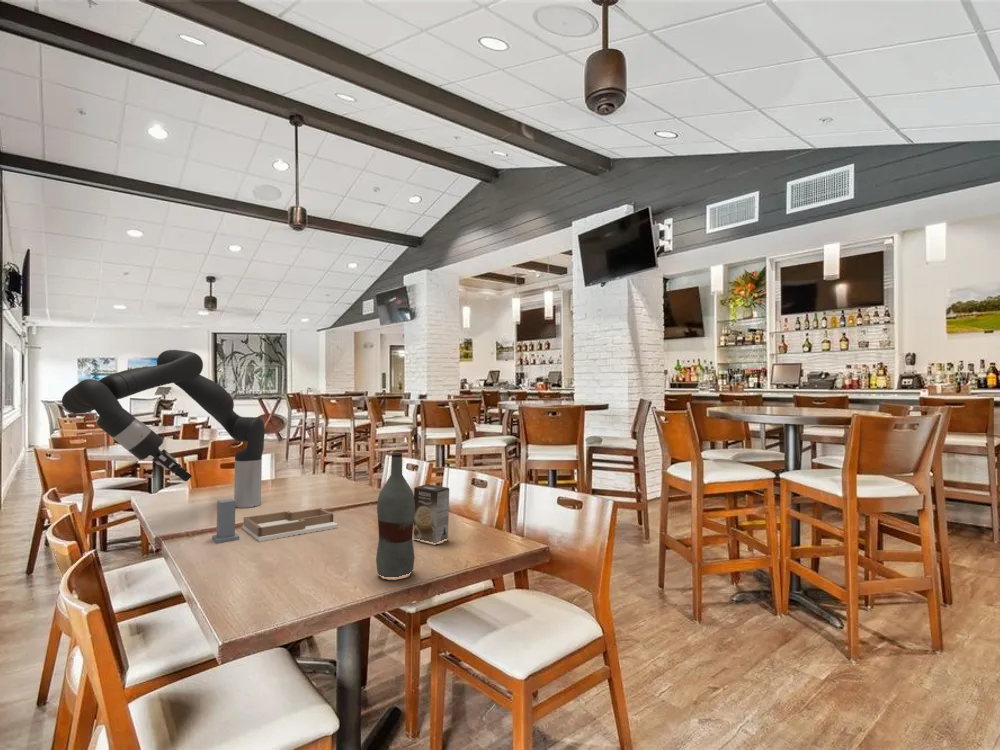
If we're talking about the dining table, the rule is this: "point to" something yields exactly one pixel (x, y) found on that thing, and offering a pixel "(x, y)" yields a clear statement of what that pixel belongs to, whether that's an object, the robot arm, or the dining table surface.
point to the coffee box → (431, 513)
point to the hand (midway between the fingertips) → (185, 476)
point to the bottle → (395, 524)
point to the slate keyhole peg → (225, 521)
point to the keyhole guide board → (288, 523)
